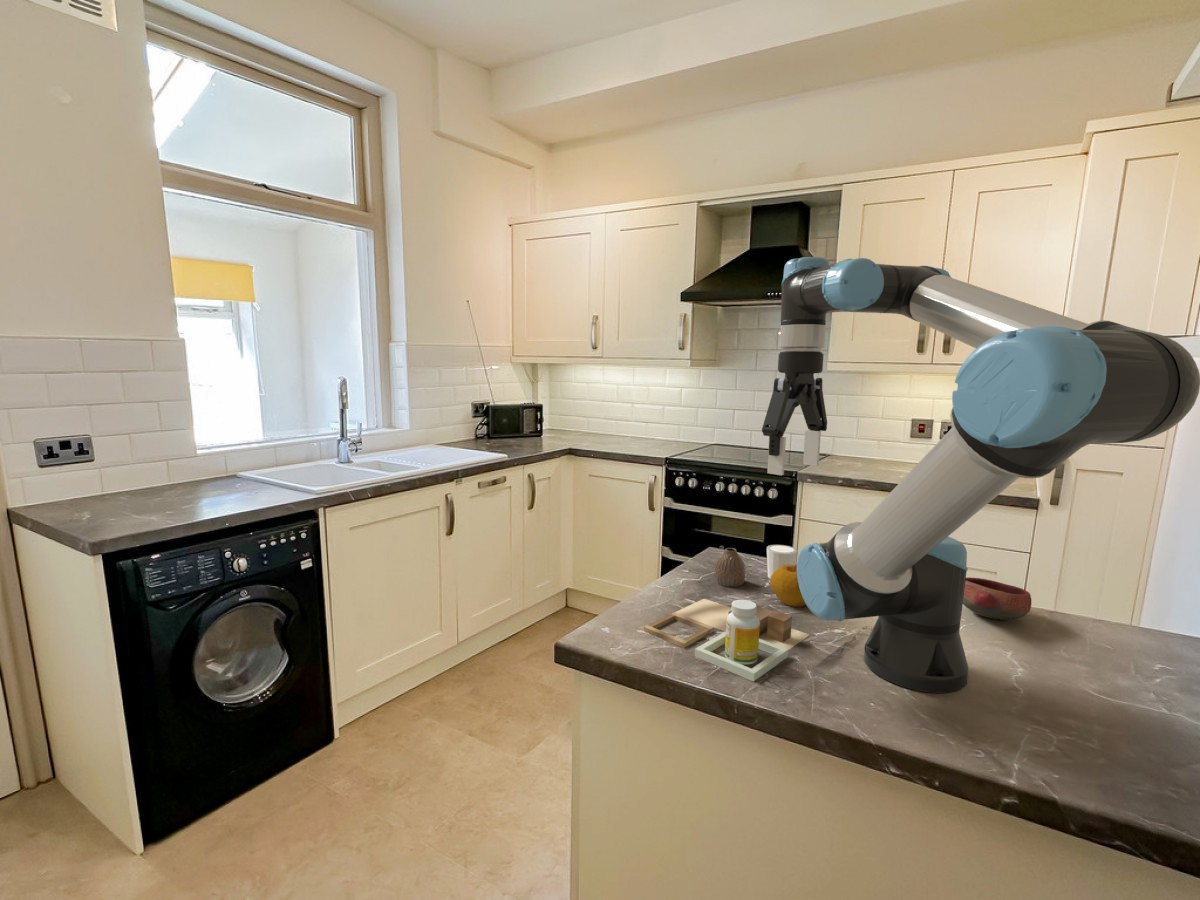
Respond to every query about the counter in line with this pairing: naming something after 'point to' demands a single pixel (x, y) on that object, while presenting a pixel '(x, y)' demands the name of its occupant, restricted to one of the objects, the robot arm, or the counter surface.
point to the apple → (787, 586)
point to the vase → (730, 569)
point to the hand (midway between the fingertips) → (793, 469)
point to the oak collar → (672, 639)
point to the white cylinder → (779, 557)
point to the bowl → (996, 599)
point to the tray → (741, 670)
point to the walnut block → (762, 619)
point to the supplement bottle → (742, 633)
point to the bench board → (775, 634)
